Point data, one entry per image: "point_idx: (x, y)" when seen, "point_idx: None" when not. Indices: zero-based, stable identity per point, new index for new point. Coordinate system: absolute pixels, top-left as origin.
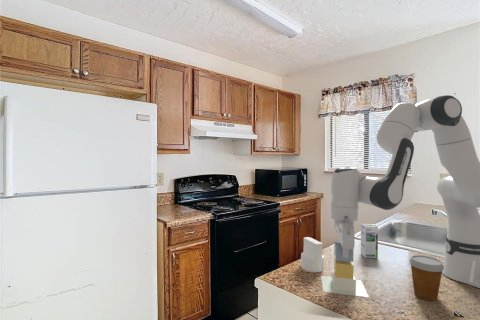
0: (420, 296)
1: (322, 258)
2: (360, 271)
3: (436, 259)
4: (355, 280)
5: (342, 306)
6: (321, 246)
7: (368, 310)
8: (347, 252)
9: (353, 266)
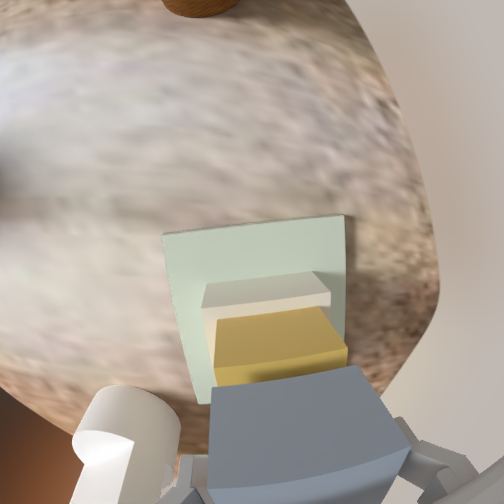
0: (232, 3)
1: (132, 440)
2: (39, 229)
3: None
4: (328, 292)
5: (402, 312)
6: (128, 495)
7: (409, 227)
8: (421, 445)
9: (343, 343)
